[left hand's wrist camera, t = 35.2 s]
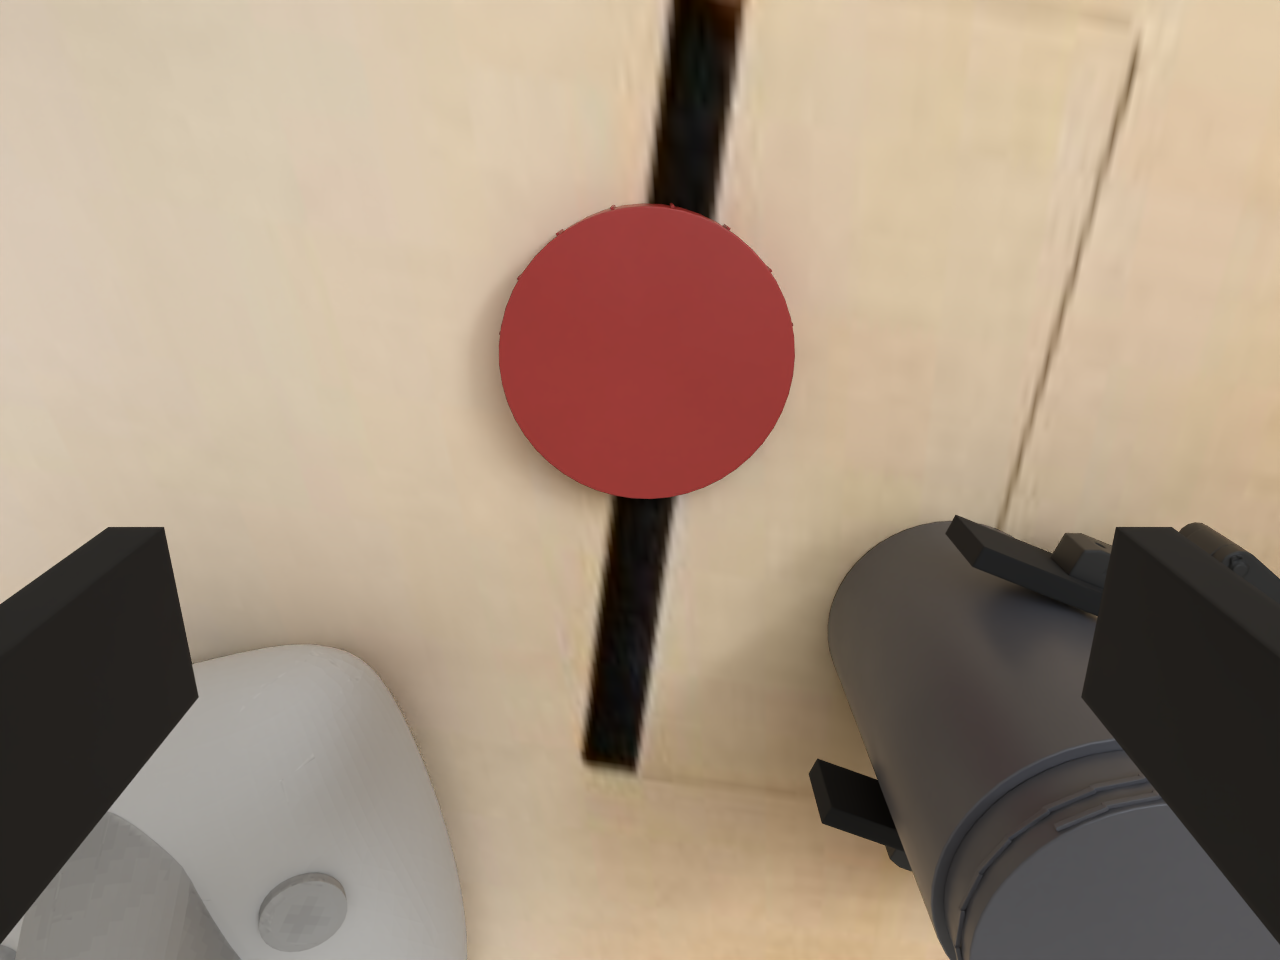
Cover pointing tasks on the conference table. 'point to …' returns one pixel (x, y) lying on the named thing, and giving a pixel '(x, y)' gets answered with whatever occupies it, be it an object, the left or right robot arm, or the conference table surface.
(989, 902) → the jar
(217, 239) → the conference table surface
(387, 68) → the conference table surface
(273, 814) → the projector
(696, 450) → the lid
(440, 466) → the conference table surface
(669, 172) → the conference table surface
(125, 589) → the left robot arm
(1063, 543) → the right robot arm
